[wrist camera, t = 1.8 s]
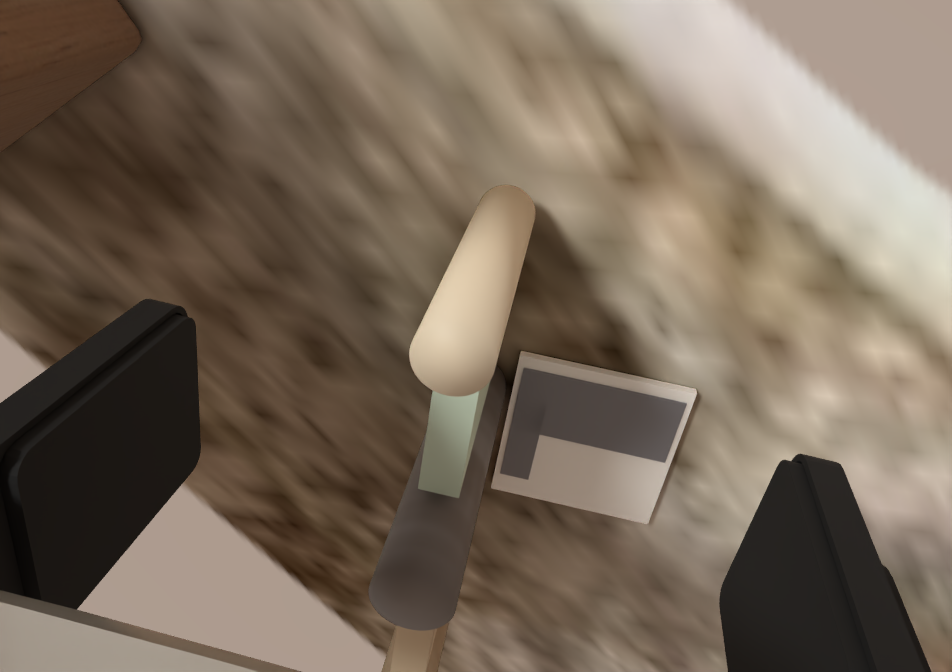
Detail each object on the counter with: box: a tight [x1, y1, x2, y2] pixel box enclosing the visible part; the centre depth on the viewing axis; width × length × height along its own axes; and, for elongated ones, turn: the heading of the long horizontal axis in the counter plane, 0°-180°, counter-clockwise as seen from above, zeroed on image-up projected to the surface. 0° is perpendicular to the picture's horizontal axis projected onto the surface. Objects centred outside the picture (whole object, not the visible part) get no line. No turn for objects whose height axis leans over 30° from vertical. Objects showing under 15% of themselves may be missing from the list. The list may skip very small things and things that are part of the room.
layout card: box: [491, 351, 697, 524], centre depth 24 cm, size 6×6×1 cm
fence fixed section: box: [369, 366, 506, 672], centre depth 22 cm, size 8×2×9 cm, turn 171°
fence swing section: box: [409, 185, 535, 498], centre depth 18 cm, size 6×2×8 cm, turn 171°
